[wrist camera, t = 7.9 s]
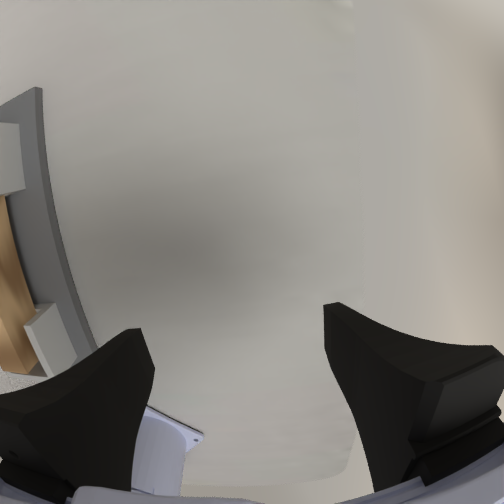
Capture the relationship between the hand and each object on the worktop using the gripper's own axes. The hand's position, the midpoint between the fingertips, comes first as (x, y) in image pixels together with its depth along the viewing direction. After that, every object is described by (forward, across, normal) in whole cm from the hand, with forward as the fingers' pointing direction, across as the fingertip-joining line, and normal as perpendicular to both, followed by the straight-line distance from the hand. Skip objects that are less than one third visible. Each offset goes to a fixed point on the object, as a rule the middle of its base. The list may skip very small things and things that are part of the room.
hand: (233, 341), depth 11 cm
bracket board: (+9, +18, -4) cm, 20 cm away
